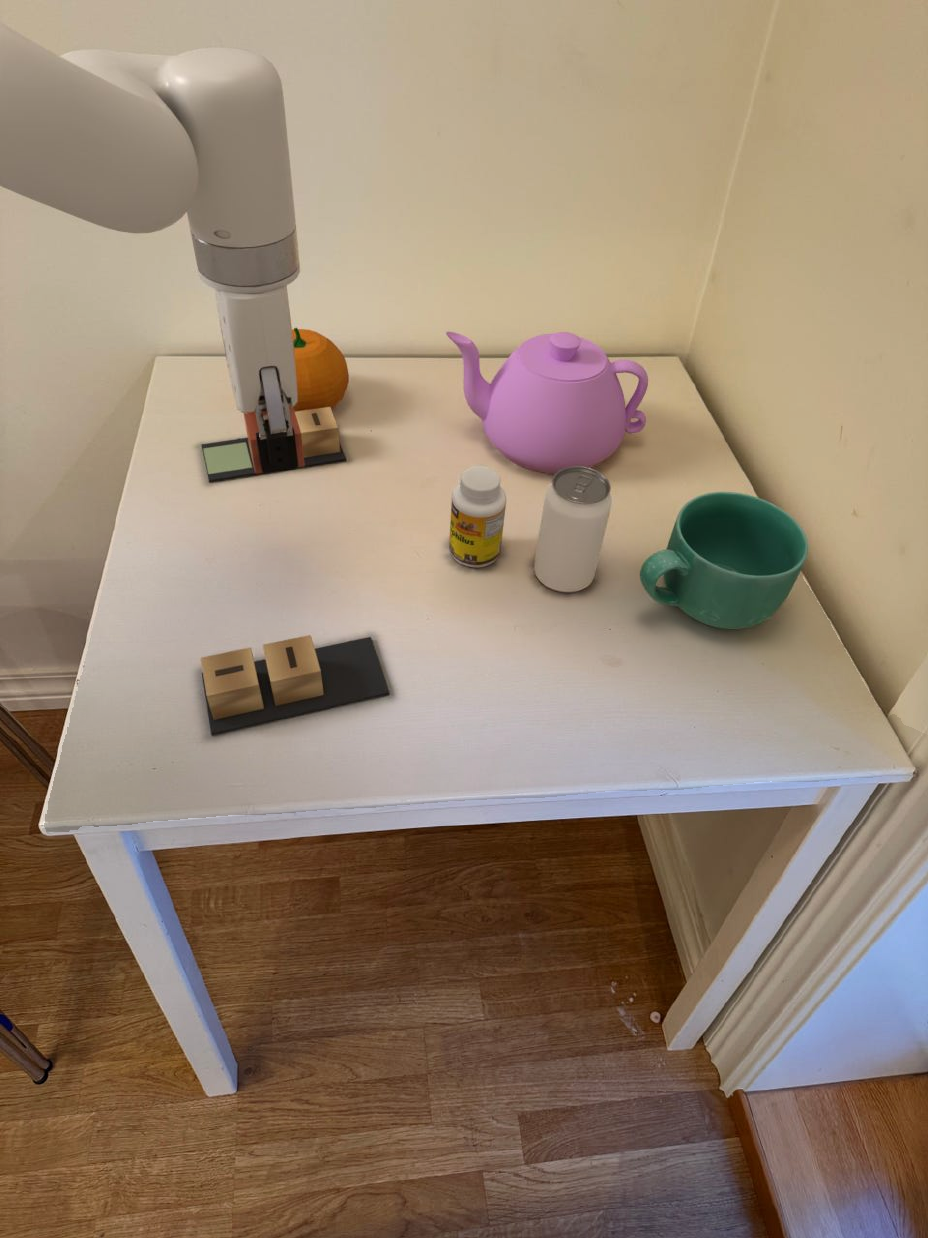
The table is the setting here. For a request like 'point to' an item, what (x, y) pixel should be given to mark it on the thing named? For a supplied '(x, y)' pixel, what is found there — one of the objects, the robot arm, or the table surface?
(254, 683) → the wooden cube
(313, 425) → the pair of dash-marked blocks
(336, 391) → the fruit
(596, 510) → the can
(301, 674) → the wooden cube
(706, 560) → the mug
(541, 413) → the teapot
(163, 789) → the table surface
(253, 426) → the striped orange cube
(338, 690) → the front mat
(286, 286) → the robot arm
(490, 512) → the supplement bottle
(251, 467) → the back mat
